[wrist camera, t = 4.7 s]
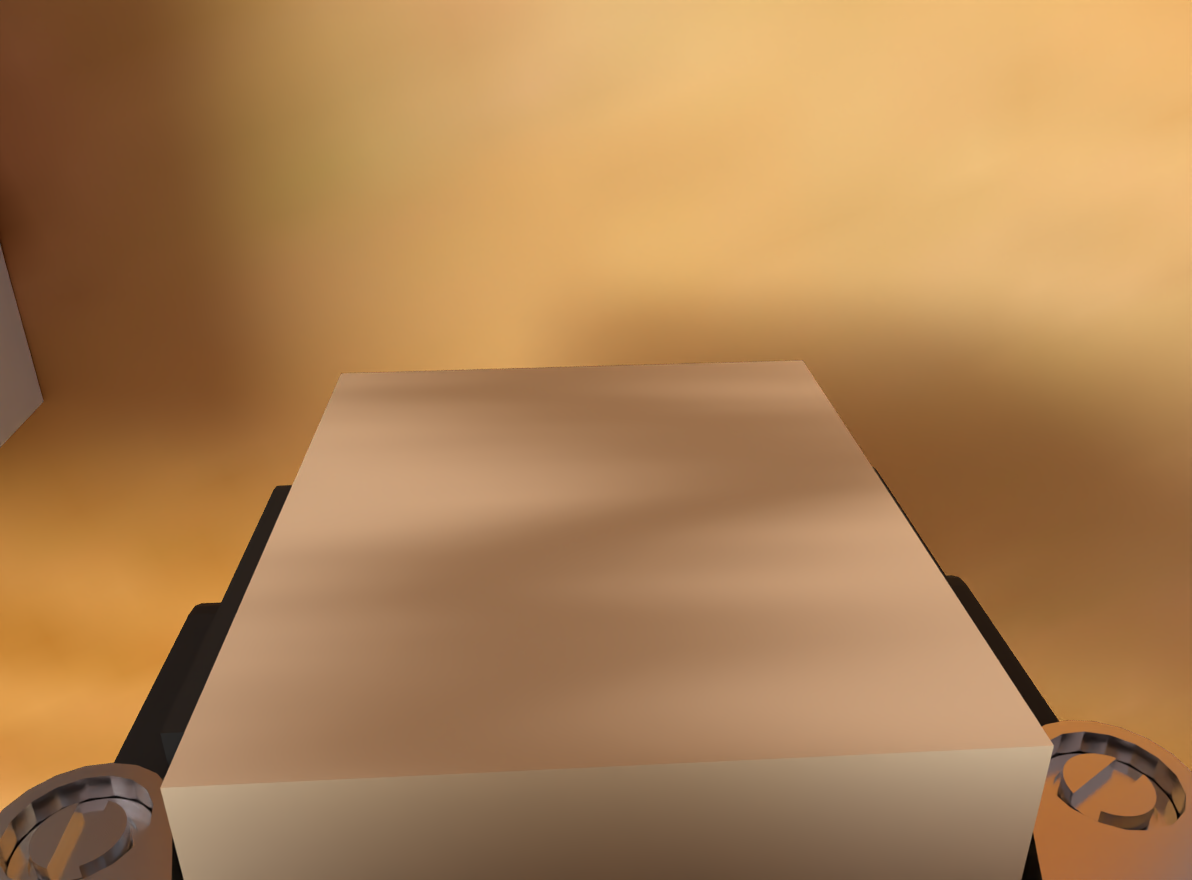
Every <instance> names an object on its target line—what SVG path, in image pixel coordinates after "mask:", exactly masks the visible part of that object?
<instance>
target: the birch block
mask: <svg viewBox="0 0 1192 880" xmlns="http://www.w3.org/2000/svg"><path fill="white" fill-rule="evenodd" d="M1053 747H1054V745H1053V743H1052V742H1051V740H1050V739H1049V737H1048V736H1047V734H1046V733H1045V731H1044V730H1043V728H1042V727H1041V725H1040V724H1039V722H1038V720H1037V719H1036V717H1035V716H1034V714H1033V713H1032V711H1031V710H1030V708H1029V707H1028V705H1027V704H1026V702H1025V701H1024V699H1023V697H1022V696H1021V694H1020V693H1019V691H1018V690H1017V688H1016V687H1015V685H1014V684H1013V682H1012V681H1011V679H1010V678H1009V676H1008V674H1007V673H1006V671H1005V670H1004V668H1003V667H1002V665H1001V664H1000V662H999V661H998V659H997V658H996V656H995V654H994V653H993V651H992V650H991V648H990V647H989V645H988V644H987V642H986V641H985V639H984V638H983V636H982V635H981V633H980V631H979V630H978V628H977V627H976V625H975V624H974V622H973V621H972V619H971V618H970V616H969V615H968V613H967V612H966V610H965V608H964V607H963V605H962V604H961V602H960V601H959V599H958V598H957V596H956V595H955V593H954V592H953V590H952V589H951V587H950V585H949V584H948V582H947V581H946V579H945V578H944V576H943V575H942V573H941V572H940V570H939V569H938V567H937V565H936V564H935V562H934V561H933V559H932V558H931V556H930V555H929V553H928V552H927V550H926V549H925V547H924V546H923V544H922V542H921V541H920V539H919V538H918V536H917V535H916V533H915V532H914V530H913V529H912V527H911V526H910V524H909V523H908V521H907V519H906V518H905V516H904V515H903V513H902V512H901V510H900V509H899V507H898V506H897V504H896V503H895V501H894V500H893V498H892V496H891V495H890V493H889V492H888V490H887V489H886V487H885V486H884V484H883V483H882V481H881V480H880V478H879V477H878V475H877V473H876V472H875V470H874V469H873V467H872V466H871V464H870V463H869V461H868V460H867V458H866V457H865V455H864V453H863V452H862V450H861V449H860V447H859V446H858V444H857V443H856V441H855V440H854V438H853V437H852V435H851V434H850V432H849V430H848V429H847V427H846V426H845V424H844V423H843V421H842V420H841V418H840V417H839V415H838V414H837V412H836V411H835V409H834V407H833V406H832V404H831V403H830V401H829V400H828V398H827V397H826V395H825V394H824V392H823V391H822V389H821V388H820V386H819V384H818V383H817V381H816V380H815V378H814V377H813V375H812V374H811V372H810V371H809V369H808V368H807V366H806V365H805V363H804V361H803V360H796V361H761V362H725V363H690V364H654V365H619V366H583V367H548V368H512V369H477V370H441V371H406V372H370V373H341V375H340V377H339V379H338V382H337V384H336V386H335V388H334V391H333V393H332V395H331V398H330V400H329V402H328V405H327V407H326V409H325V411H324V414H323V416H322V418H321V421H320V423H319V425H318V427H317V430H316V432H315V434H314V437H313V439H312V441H311V444H310V446H309V448H308V450H307V453H306V455H305V457H304V460H303V462H302V464H301V466H300V469H299V471H298V473H297V476H296V478H295V480H294V482H293V485H292V487H291V489H290V492H289V494H288V496H287V499H286V501H285V503H284V505H283V508H282V510H281V512H280V515H279V517H278V519H277V521H276V524H275V526H274V528H273V531H272V533H271V535H270V537H269V540H268V542H267V544H266V547H265V549H264V551H263V554H262V556H261V558H260V560H259V563H258V565H257V567H256V570H255V572H254V574H253V576H252V579H251V581H250V583H249V586H248V588H247V590H246V593H245V595H244V597H243V599H242V602H241V604H240V606H239V609H238V611H237V613H236V615H235V618H234V620H233V622H232V625H231V627H230V629H229V631H228V634H227V636H226V638H225V641H224V643H223V645H222V648H221V650H220V652H219V654H218V657H217V659H216V661H215V664H214V666H213V668H212V670H211V673H210V675H209V677H208V680H207V682H206V684H205V686H204V689H203V691H202V693H201V696H200V698H199V700H198V703H197V705H196V707H195V709H194V712H193V714H192V716H191V719H190V721H189V723H188V725H187V728H186V730H185V732H184V735H183V737H182V739H181V742H180V744H179V746H178V748H177V751H176V753H175V755H174V758H173V760H172V762H171V764H170V767H169V769H168V771H167V774H166V776H165V778H164V780H163V783H162V785H161V787H160V789H161V793H162V797H163V801H164V805H165V809H166V812H167V816H168V820H169V824H170V828H171V832H172V836H173V840H174V844H175V848H176V852H177V855H178V859H179V863H180V867H181V871H182V875H183V879H184V880H1021V879H1022V875H1023V870H1024V866H1025V862H1026V858H1027V854H1028V850H1029V846H1030V842H1031V838H1032V833H1033V829H1034V825H1035V821H1036V817H1037V813H1038V809H1039V805H1040V801H1041V797H1042V792H1043V788H1044V784H1045V780H1046V776H1047V772H1048V768H1049V764H1050V760H1051V756H1052V751H1053Z"/></svg>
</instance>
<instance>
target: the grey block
mask: <svg viewBox="0 0 1192 880" xmlns="http://www.w3.org/2000/svg"><path fill="white" fill-rule="evenodd" d="M43 402H44V401H43V398H42V394H41V390H40V387H39V383H38V380H37V376H36V372H35V369H34V365H33V361H32V358H31V354H30V351H29V347H28V343H27V340H26V336H25V332H24V329H23V325H22V322H21V318H20V314H19V311H18V307H17V303H16V300H15V296H14V293H13V289H12V285H11V282H10V278H9V274H8V271H7V267H6V264H5V260H4V256H3V253H2V249H1V245H0V447H1V446H2V445H3V444H4V443H5V442H6V441H7V440H8V439H9V438H10V437H11V436H12V435H13V433H14V432H15V431H16V430H17V429H18V428H19V427H20V426H21V425H22V424H23V423H24V422H25V421H26V420H27V419H28V418H29V417H30V416H31V414H32V413H33V412H34V411H35V410H36V409H37V408H38V407H39V406H40V405H41V404H42V403H43Z"/></svg>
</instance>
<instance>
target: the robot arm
mask: <svg viewBox="0 0 1192 880" xmlns="http://www.w3.org/2000/svg"><path fill="white" fill-rule="evenodd" d="M873 469H874V470H875V472H876V473H877V475H878V477H879V478H880V480H881V481H882V483H883V484H884V486H885V487H886V489H887V490H888V492H889V493H890V495H891V496H892V498H893V500H894V501H895V503H896V504H897V506H898V507H899V509H900V510H901V512H902V513H903V515H904V516H905V518H906V519H907V521H908V523H909V524H910V526H911V527H912V529H913V530H914V532H915V533H916V535H917V536H918V538H919V539H920V541H921V542H922V544H923V546H924V547H925V549H926V550H927V552H928V553H929V555H930V556H931V558H932V559H933V561H934V562H935V564H936V565H937V567H938V569H939V570H940V572H941V573H942V575H943V576H944V578H945V579H946V581H947V582H948V584H949V585H950V587H951V589H952V590H953V592H954V593H955V595H956V596H957V598H958V599H959V601H960V602H961V604H962V605H963V607H964V608H965V610H966V612H967V613H968V615H969V616H970V618H971V619H972V621H973V622H974V624H975V625H976V627H977V628H978V630H979V631H980V633H981V635H982V636H983V638H984V639H985V641H986V642H987V644H988V645H989V647H990V648H991V650H992V651H993V653H994V654H995V656H996V658H997V659H998V661H999V662H1000V664H1001V665H1002V667H1003V668H1004V670H1005V671H1006V673H1007V674H1008V676H1009V678H1010V679H1011V681H1012V682H1013V684H1014V685H1015V687H1016V688H1017V690H1018V691H1019V693H1020V694H1021V696H1022V697H1023V699H1024V701H1025V702H1026V704H1027V705H1028V707H1029V708H1030V710H1031V711H1032V713H1033V714H1034V716H1035V717H1036V719H1037V720H1038V722H1039V724H1040V725H1041V727H1042V728H1043V730H1044V731H1045V733H1046V734H1047V736H1048V737H1049V739H1050V740H1051V742H1052V743H1053V745H1054V747H1053V751H1052V756H1051V760H1050V764H1049V768H1048V772H1047V776H1046V780H1045V784H1044V788H1043V792H1042V797H1041V801H1040V805H1039V809H1038V813H1037V817H1036V821H1035V825H1034V829H1033V833H1032V838H1031V842H1030V846H1029V850H1028V854H1027V858H1026V862H1025V866H1024V870H1023V875H1022V879H1021V880H1192V772H1191V771H1190V770H1189V769H1188V768H1187V767H1186V766H1185V765H1184V764H1183V763H1181V762H1180V761H1179V760H1178V759H1177V758H1176V757H1175V756H1174V755H1173V754H1172V753H1170V752H1168V751H1167V750H1165V749H1164V748H1162V747H1160V746H1159V745H1157V744H1156V743H1154V742H1152V741H1151V740H1149V739H1147V738H1145V737H1143V736H1140V735H1138V734H1135V733H1133V732H1130V731H1128V730H1126V729H1123V728H1121V727H1116V726H1112V725H1108V724H1103V723H1099V722H1095V721H1077V720H1066V721H1061V722H1059V721H1058V719H1057V718H1056V716H1055V715H1054V713H1053V712H1052V710H1051V709H1050V707H1049V706H1048V704H1047V703H1046V701H1045V700H1044V699H1043V697H1042V696H1041V694H1040V693H1039V691H1038V690H1037V688H1036V687H1035V685H1034V684H1033V682H1032V681H1031V679H1030V678H1029V676H1028V675H1027V673H1026V672H1025V670H1024V669H1023V668H1022V666H1021V665H1020V663H1019V662H1018V660H1017V659H1016V657H1015V656H1014V654H1013V653H1012V651H1011V650H1010V648H1009V647H1008V645H1007V644H1006V642H1005V641H1004V639H1003V638H1002V637H1001V635H1000V634H999V632H998V631H997V629H996V628H995V626H994V625H993V623H992V622H991V620H990V619H989V617H988V616H987V614H986V613H985V611H984V610H983V608H982V607H981V606H980V604H979V603H978V601H977V600H976V598H975V597H974V595H973V594H972V592H971V591H970V589H969V588H968V586H967V585H966V584H965V583H964V582H963V581H962V580H961V579H960V578H959V577H956V576H952V575H950V576H946V575H945V574H944V572H943V571H942V569H941V568H940V566H939V565H938V563H937V562H936V560H935V558H934V557H933V555H932V554H931V552H930V551H929V549H928V548H927V546H926V545H925V543H924V542H923V540H922V539H921V537H920V536H919V534H918V533H917V531H916V529H915V528H914V526H913V525H912V523H911V522H910V520H909V519H908V517H907V516H906V514H905V513H904V511H903V510H902V508H901V507H900V505H899V504H898V502H897V500H896V499H895V497H894V496H893V494H892V493H891V491H890V490H889V488H888V487H887V485H886V484H885V482H884V481H883V479H882V478H881V476H880V474H879V473H878V471H877V470H876V469H875V468H874V467H873ZM291 487H292V485H287V486H276V488H275V489H274V490H273V493H272V495H271V497H270V499H269V501H268V503H267V505H266V508H265V510H264V512H263V514H262V516H261V518H260V520H259V523H258V525H257V527H256V529H255V531H254V533H253V535H252V538H251V540H250V542H249V544H248V546H247V548H246V550H245V553H244V555H243V557H242V559H241V561H240V563H239V565H238V568H237V570H236V572H235V574H234V576H233V578H232V580H231V583H230V585H229V587H228V589H227V591H226V593H225V596H224V598H223V600H222V602H221V603H201V604H199V605H196V606H195V607H194V608H193V610H192V611H191V612H190V614H189V615H188V617H187V619H186V621H185V623H184V625H183V627H182V629H181V631H180V633H179V635H178V637H177V639H176V641H175V643H174V645H173V647H172V649H171V651H170V653H169V655H168V657H167V659H166V661H165V663H164V665H163V667H162V669H161V671H160V673H159V675H158V677H157V679H156V681H155V683H154V685H153V687H152V689H151V691H150V693H149V695H148V697H147V699H146V700H145V702H144V704H143V706H142V708H141V710H140V712H139V714H138V716H137V718H136V720H135V722H134V724H133V726H132V728H131V730H130V732H129V734H128V736H127V738H126V740H125V742H124V744H123V746H122V748H121V750H120V752H119V754H118V756H117V758H116V760H115V762H114V763H108V764H100V765H92V766H85V767H81V768H78V769H75V770H72V771H69V772H66V773H63V774H60V775H56V776H54V777H52V778H50V779H49V780H47V781H45V782H43V783H41V784H39V785H37V786H35V787H33V788H31V789H29V790H28V791H26V792H25V793H24V794H22V795H21V796H20V797H18V798H17V799H16V800H14V801H13V802H12V803H11V804H9V805H8V806H7V807H5V808H4V809H3V810H2V811H1V813H0V880H184V879H183V875H182V871H181V867H180V863H179V859H178V855H177V852H176V848H175V844H174V840H173V836H172V832H171V828H170V824H169V820H168V816H167V812H166V809H165V805H164V801H163V797H162V793H161V789H160V787H161V785H162V783H163V780H164V778H165V776H166V774H167V771H168V769H169V767H170V764H171V762H172V760H173V758H174V755H175V753H176V751H177V748H178V746H179V744H180V742H181V739H182V737H183V735H184V732H185V730H186V728H187V725H188V723H189V721H190V719H191V716H192V714H193V712H194V709H195V707H196V705H197V703H198V700H199V698H200V696H201V693H202V691H203V689H204V686H205V684H206V682H207V680H208V677H209V675H210V673H211V670H212V668H213V666H214V664H215V661H216V659H217V657H218V654H219V652H220V650H221V648H222V645H223V643H224V641H225V638H226V636H227V634H228V631H229V629H230V627H231V625H232V622H233V620H234V618H235V615H236V613H237V611H238V609H239V606H240V604H241V602H242V599H243V597H244V595H245V593H246V590H247V588H248V586H249V583H250V581H251V579H252V576H253V574H254V572H255V570H256V567H257V565H258V563H259V560H260V558H261V556H262V554H263V551H264V549H265V547H266V544H267V542H268V540H269V537H270V535H271V533H272V531H273V528H274V526H275V524H276V521H277V519H278V517H279V515H280V512H281V510H282V508H283V505H284V503H285V501H286V499H287V496H288V494H289V492H290V489H291Z"/></svg>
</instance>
